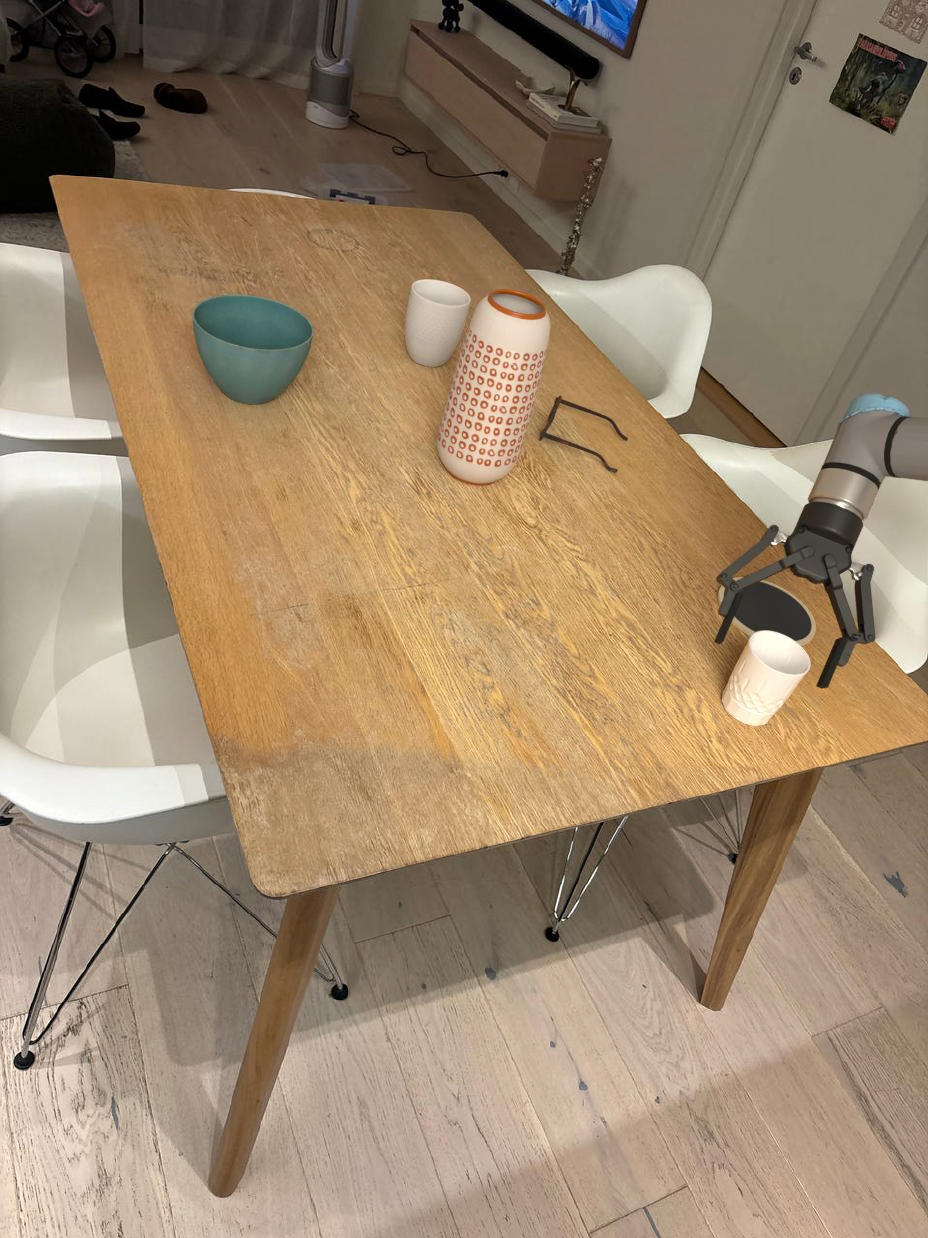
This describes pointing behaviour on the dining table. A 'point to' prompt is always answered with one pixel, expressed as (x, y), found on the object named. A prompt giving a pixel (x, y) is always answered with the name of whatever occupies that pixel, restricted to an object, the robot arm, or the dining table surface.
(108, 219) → the dining table surface
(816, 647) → the dining table surface
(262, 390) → the teal bowl
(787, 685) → the white cup
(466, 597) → the dining table surface
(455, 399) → the patterned vase
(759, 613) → the face circle
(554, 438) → the eyeglasses
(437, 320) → the mug
